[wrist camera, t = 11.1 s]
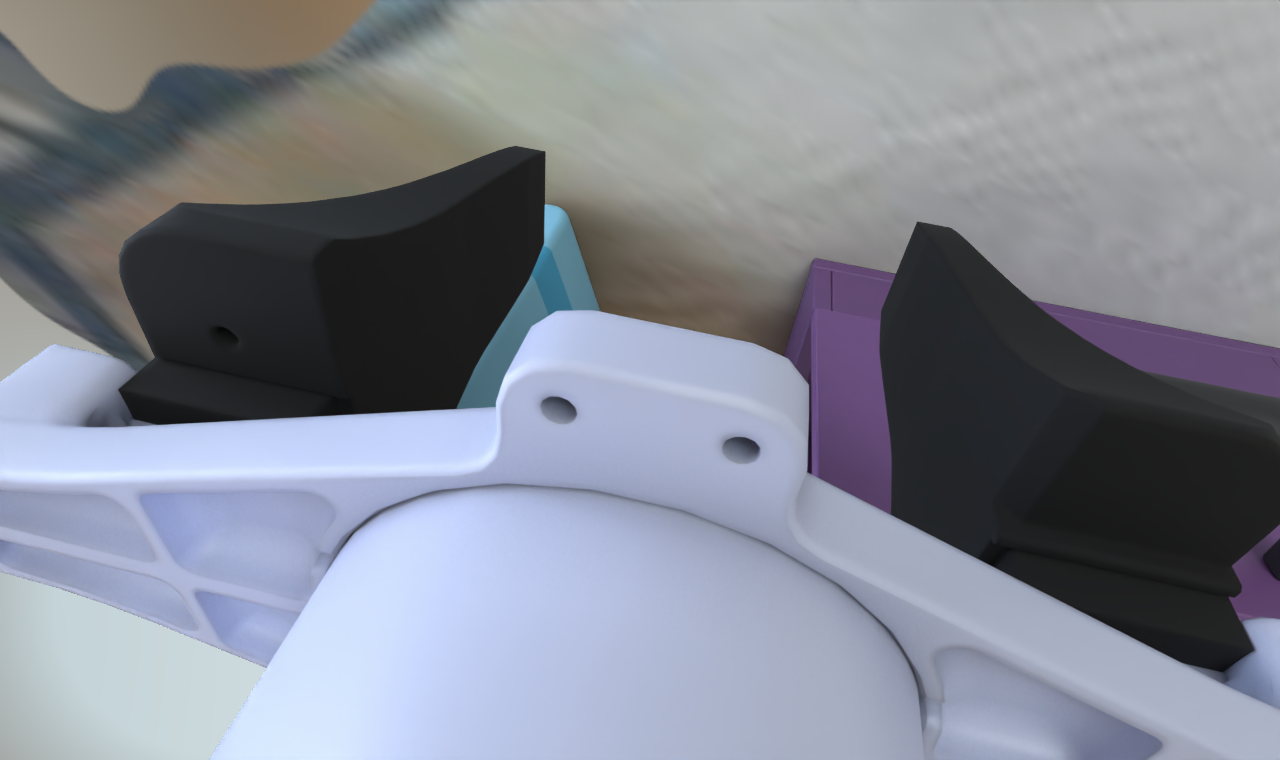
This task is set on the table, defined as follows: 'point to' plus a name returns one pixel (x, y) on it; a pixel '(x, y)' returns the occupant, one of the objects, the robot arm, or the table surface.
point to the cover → (861, 450)
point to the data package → (534, 306)
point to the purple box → (1114, 335)
